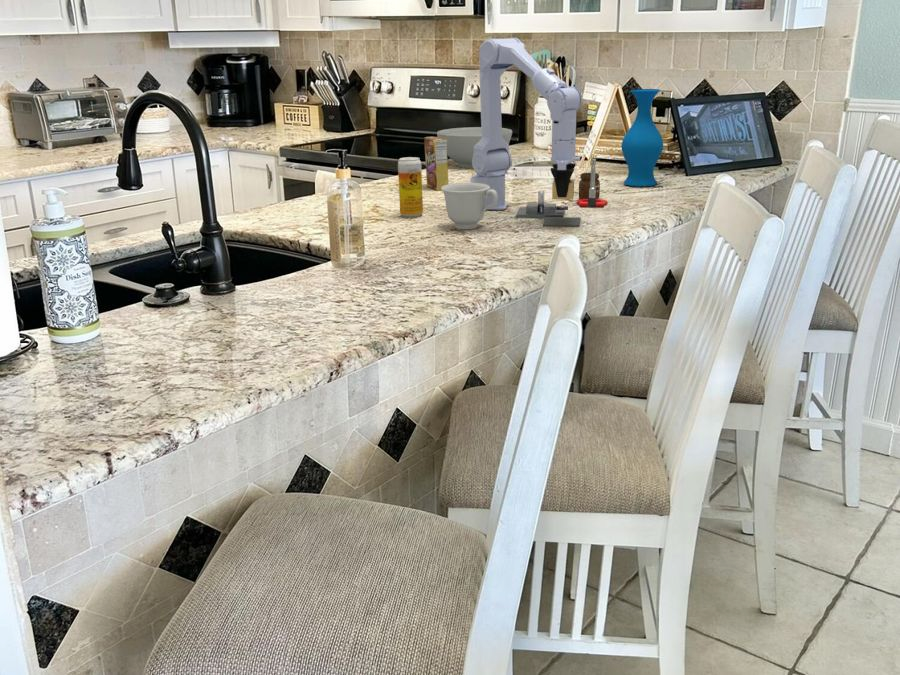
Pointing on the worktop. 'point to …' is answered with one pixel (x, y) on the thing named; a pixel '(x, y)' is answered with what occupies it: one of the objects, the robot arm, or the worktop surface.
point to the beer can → (410, 187)
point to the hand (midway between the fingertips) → (562, 195)
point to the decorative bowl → (465, 143)
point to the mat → (562, 221)
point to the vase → (642, 142)
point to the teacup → (467, 203)
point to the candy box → (436, 162)
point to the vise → (541, 209)
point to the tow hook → (592, 193)
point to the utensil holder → (588, 183)
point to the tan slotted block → (569, 194)
